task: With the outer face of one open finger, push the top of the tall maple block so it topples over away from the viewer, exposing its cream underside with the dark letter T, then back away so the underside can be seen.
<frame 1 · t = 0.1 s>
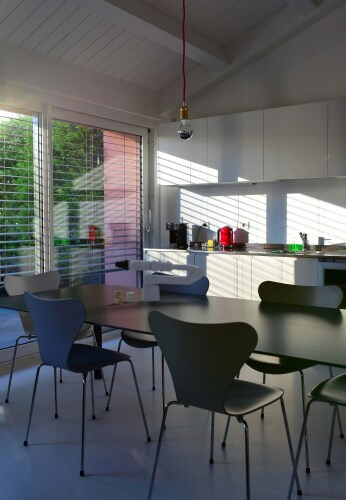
hand: (115, 264, 296), 21 cm above the table, fingers open, 7 cm apart
maple block: (118, 303, 292), on the table
sage block: (130, 301, 298), on the table
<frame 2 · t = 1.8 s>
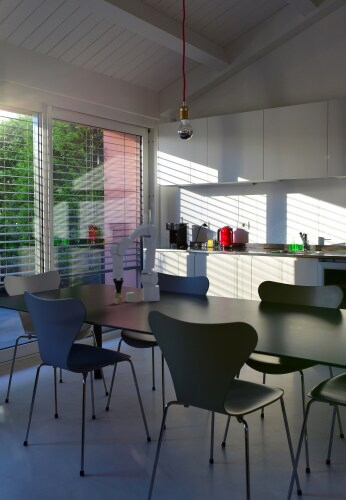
hand: (118, 292, 282), 8 cm above the table, fingers open, 7 cm apart
nothing on the table moved.
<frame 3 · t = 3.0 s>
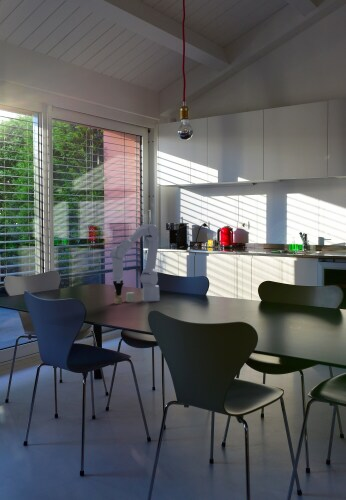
hand: (118, 294, 286), 6 cm above the table, fingers open, 6 cm apart
maple block: (118, 303, 292), on the table, touching gripper
everything else where it was.
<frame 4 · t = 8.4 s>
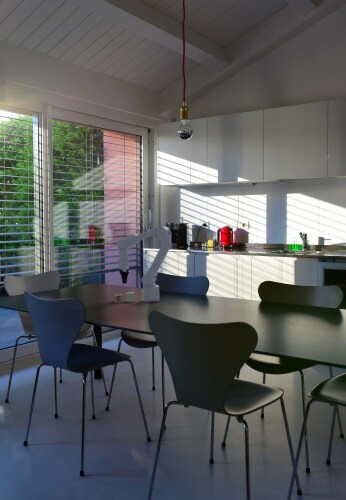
hand: (124, 282, 304), 10 cm above the table, fingers open, 7 cm apart
maple block: (118, 299, 294), point 2 cm above the table, tilted 90°
everything else where it was.
at the end: maple block tilted 90°; maple block inside the target area (1.2 cm from its centre), point 2.0 cm above the table; sage block moved 0.1 cm from its start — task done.
